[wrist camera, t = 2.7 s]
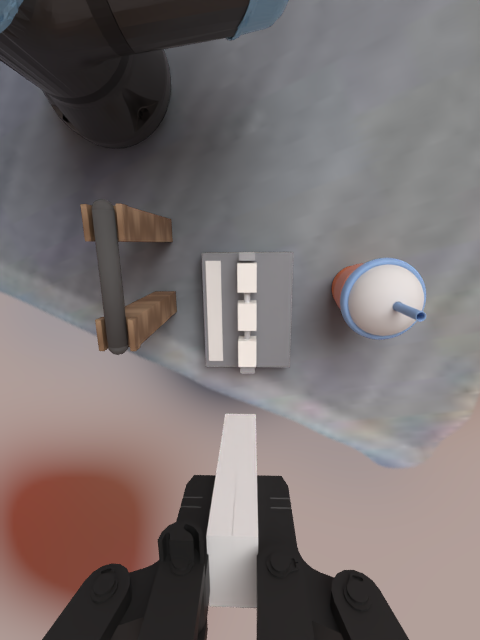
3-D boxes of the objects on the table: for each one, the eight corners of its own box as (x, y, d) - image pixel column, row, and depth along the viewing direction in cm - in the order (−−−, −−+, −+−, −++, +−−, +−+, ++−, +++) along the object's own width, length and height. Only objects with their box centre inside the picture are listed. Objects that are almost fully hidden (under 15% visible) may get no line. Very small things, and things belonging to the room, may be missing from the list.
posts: (147, 219, 42) (80, 204, 26) (173, 219, 42) (121, 203, 26) (155, 311, 45) (99, 351, 29) (178, 311, 45) (135, 351, 29)
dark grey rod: (96, 201, 27) (86, 197, 25) (117, 200, 27) (107, 197, 25) (114, 350, 30) (105, 357, 28) (132, 350, 30) (124, 357, 28)
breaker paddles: (238, 262, 40) (237, 263, 38) (256, 262, 40) (256, 263, 38) (239, 360, 43) (238, 366, 41) (256, 360, 43) (256, 366, 41)
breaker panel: (204, 251, 43) (198, 252, 38) (290, 251, 43) (295, 252, 38) (208, 359, 47) (203, 373, 42) (287, 360, 47) (291, 373, 42)
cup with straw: (307, 284, 44) (345, 311, 26) (360, 240, 42) (437, 238, 24) (346, 330, 45) (406, 385, 28) (398, 290, 43) (497, 321, 26)
